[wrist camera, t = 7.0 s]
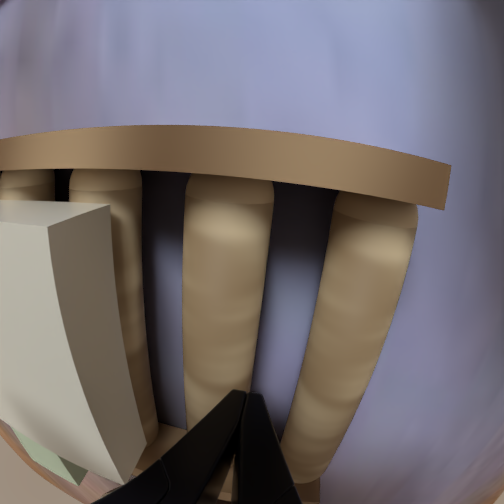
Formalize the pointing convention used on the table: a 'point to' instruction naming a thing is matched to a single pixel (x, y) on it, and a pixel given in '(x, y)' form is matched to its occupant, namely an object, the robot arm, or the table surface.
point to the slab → (65, 337)
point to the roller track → (246, 261)
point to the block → (52, 460)
